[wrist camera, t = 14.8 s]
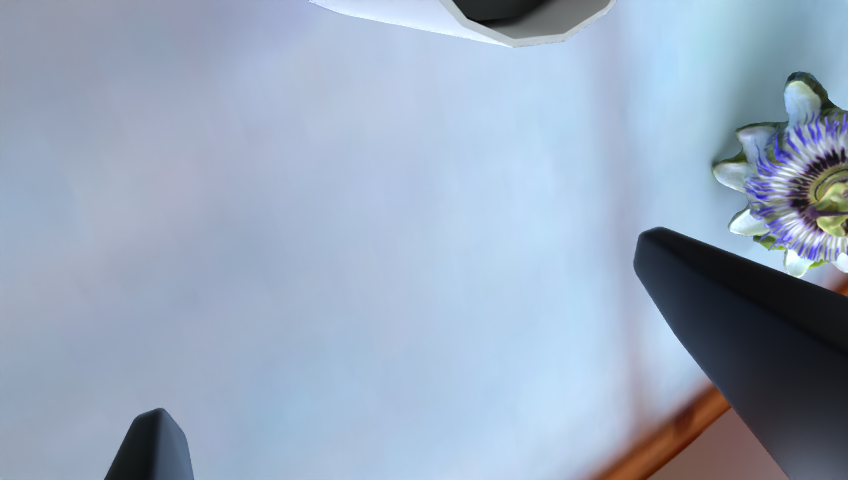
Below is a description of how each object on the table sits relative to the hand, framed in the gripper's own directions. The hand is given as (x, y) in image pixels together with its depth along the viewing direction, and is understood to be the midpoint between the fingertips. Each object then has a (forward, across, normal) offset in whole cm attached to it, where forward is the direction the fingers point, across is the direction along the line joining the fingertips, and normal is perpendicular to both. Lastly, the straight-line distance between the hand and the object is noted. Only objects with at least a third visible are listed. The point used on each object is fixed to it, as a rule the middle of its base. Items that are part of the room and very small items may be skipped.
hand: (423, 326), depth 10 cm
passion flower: (+14, -26, +13) cm, 32 cm away
